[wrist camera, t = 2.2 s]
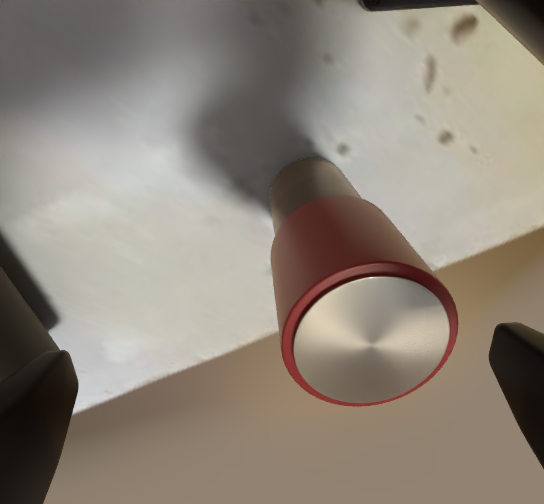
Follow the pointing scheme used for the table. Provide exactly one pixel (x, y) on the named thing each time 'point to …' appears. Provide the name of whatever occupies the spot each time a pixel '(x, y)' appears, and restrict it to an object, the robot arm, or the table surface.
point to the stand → (305, 186)
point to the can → (357, 304)
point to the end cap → (19, 331)
